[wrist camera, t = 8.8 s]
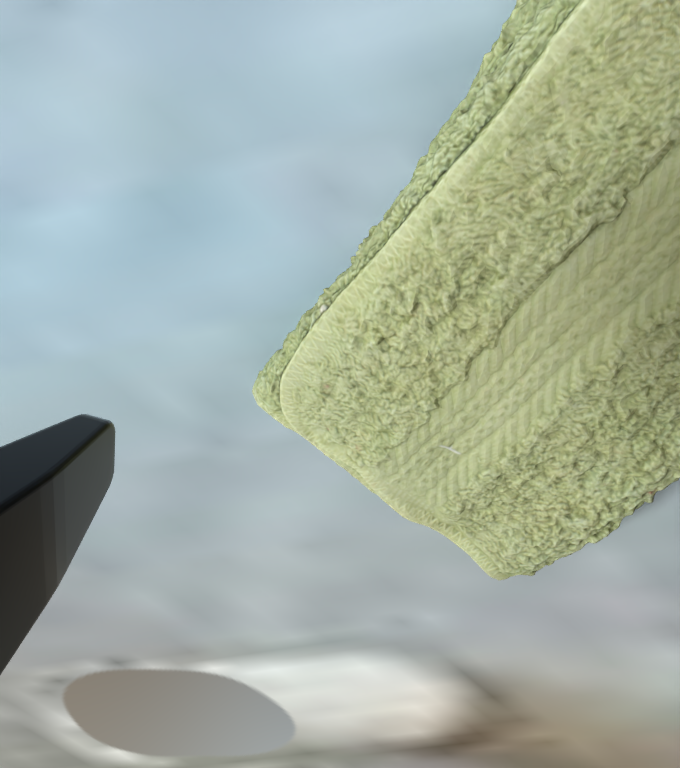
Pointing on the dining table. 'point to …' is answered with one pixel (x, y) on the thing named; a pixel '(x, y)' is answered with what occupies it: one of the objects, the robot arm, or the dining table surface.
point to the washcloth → (516, 300)
